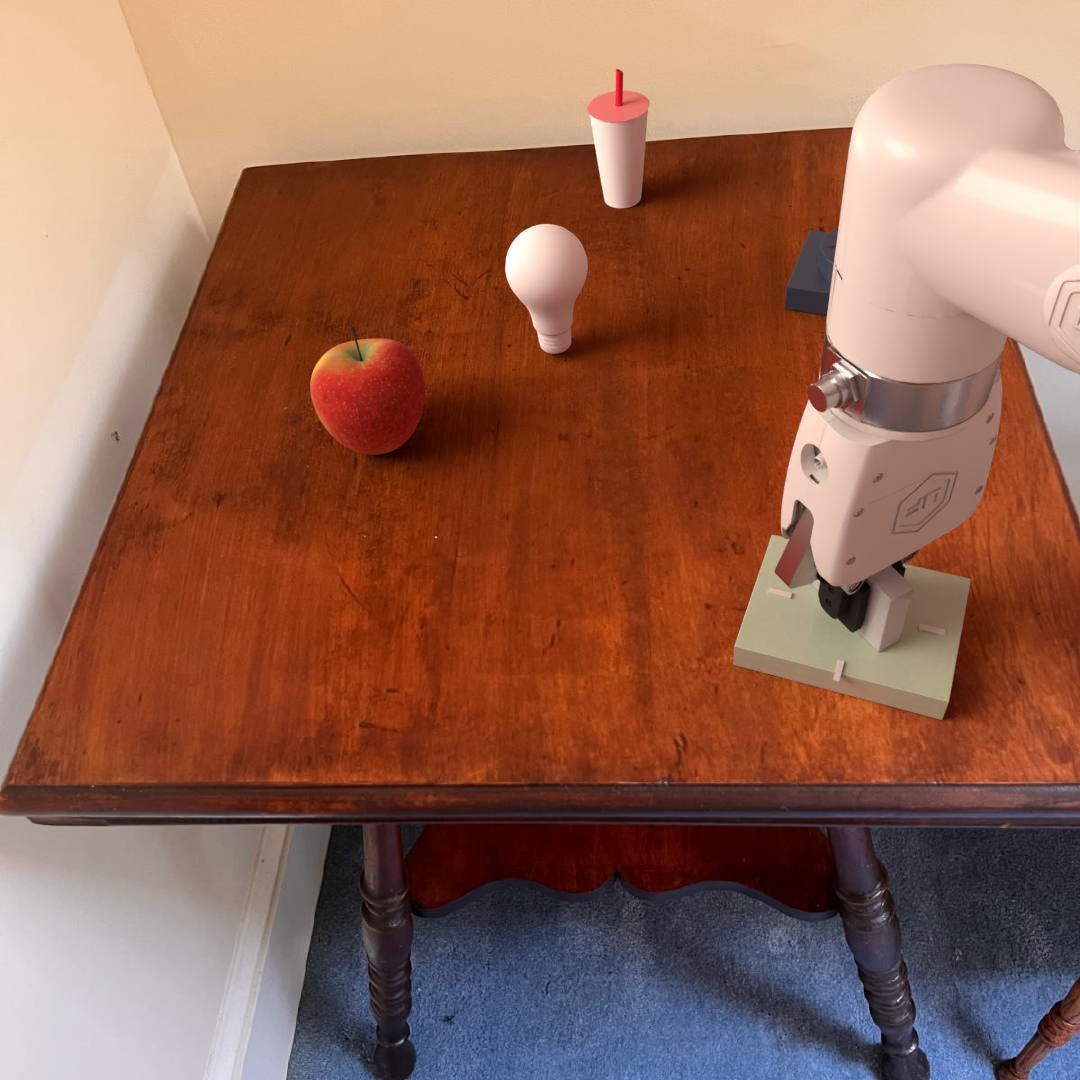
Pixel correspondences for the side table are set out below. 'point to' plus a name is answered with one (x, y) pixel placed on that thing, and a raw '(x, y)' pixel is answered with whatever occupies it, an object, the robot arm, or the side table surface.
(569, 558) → the side table surface
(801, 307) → the button block
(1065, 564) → the side table surface
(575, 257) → the lightbulb
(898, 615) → the tap handle
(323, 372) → the apple
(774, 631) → the panel
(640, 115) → the cup
